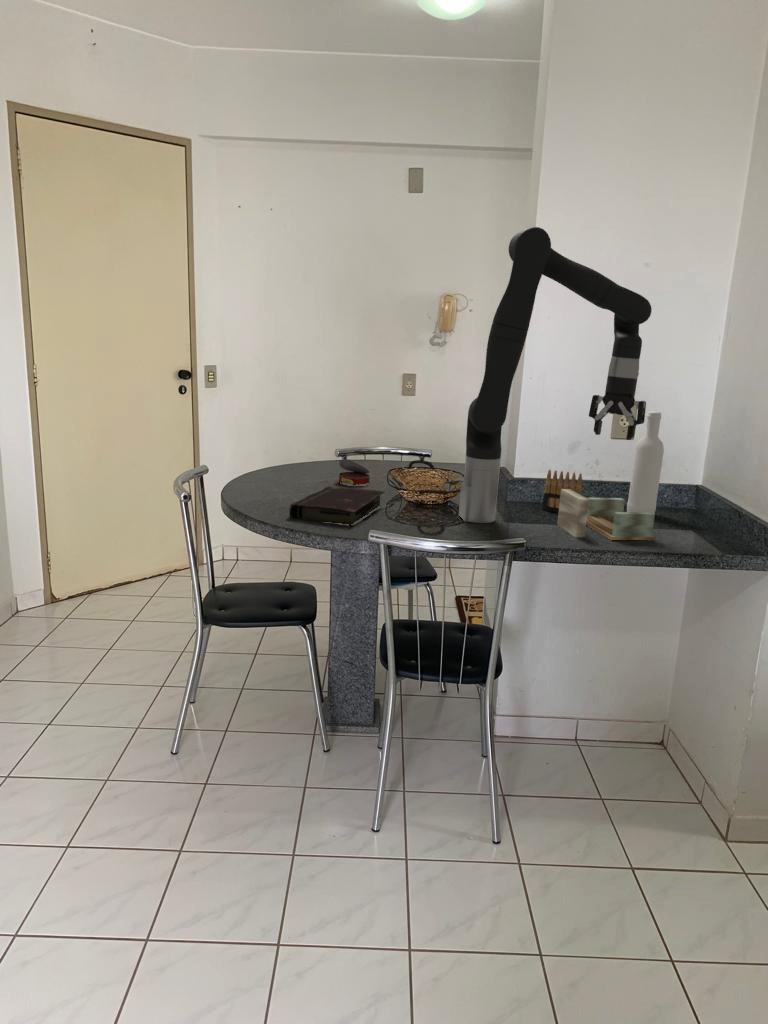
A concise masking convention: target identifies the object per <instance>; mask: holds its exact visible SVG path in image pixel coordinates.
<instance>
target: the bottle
mask: <svg viewBox="0 0 768 1024" xmlns="http://www.w3.org/2000/svg"><path fill="white" fill-rule="evenodd" d="M661 420H662V412H661V411H653V410H652V411H651V410H649V411H648V412H647V415H646V424H645V430H644V431H645V432H644V436H642V437H641V438H640V439H639V440H638V441H637V442H636V444H635V448H634V455H633V461H632V470H631V478H630V483H629V484H630V485H629V492H628V498H627V499H628V501H627V502H626V512H651V513H653V514H655V512H656V508H657V500H658V492H659V487H660V485H659V484H660V478H661V472H662V466H663V458H664V452H665V448H664V444H663V441H662V440H661V439H660V437H659V431H660V425H661ZM655 515H656V514H655Z"/></svg>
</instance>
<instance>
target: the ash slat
mask: <svg viewBox="0 0 768 1024" xmlns="http://www.w3.org/2000/svg"><path fill="white" fill-rule="evenodd" d="M587 498H588V497H586V496H583V495H582V494H581V495H580V494H578V493H576V491H575V492H574V491H572V490H571V489H570V488H569V489H561V495H560V504H559V512H557V513H558V515H557V522H556V523H557V524H556V526H557V527H559V528H561V529H562V530H563V531H565V532H566V533H568V534H569V535H571V536H572V537H574V538H583V537H586V528H587V526H586V522H587V514H588V506H589V499H587Z"/></svg>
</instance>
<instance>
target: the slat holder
mask: <svg viewBox="0 0 768 1024" xmlns="http://www.w3.org/2000/svg"><path fill="white" fill-rule="evenodd" d="M586 498H587V499H589V506H588V514H587V522H586V525H587V526H586V527H588V528H590V529H591V528H592V529H591V530H593V531H594V530H595V531H594V532H596V531H597V532H596V533H598V532H599V533H600V534H599V533H598V534H599V535H601V534H602V535H604V536H605V537H604V536H603V537H604V538H606V537H607V538H608V539H607V538H606V539H607V540H609V539H610V540H609V541H611V540H655V541H656V537H655V536H654V535H653V530H654V523H655V516H656V514H653V513H651V512H627V511H624V509H625V503H626V501H625V499H624V498H622V497H586ZM602 535H601V536H602Z"/></svg>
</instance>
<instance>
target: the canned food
mask: <svg viewBox="0 0 768 1024" xmlns="http://www.w3.org/2000/svg"><path fill="white" fill-rule="evenodd" d="M338 466H339V467H340V468H341V469H343V470H344V471H345V470H346V472H343V471H342V472H340V473H338V483H339V482H341V483H345V484H353V485H356V484H358V485H359V484H366V483H369V484H370V480H371V479H370V476H371V475H370V474H369V473H370V472H371V471H370V470H369V469H367V468H366V467H364V466H363V465H361V464H359V463H358V462H356V461H353V460H351V459H348V458H347V459H345V458H344V459H343V458H342V459H340V461H339V464H338Z"/></svg>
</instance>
